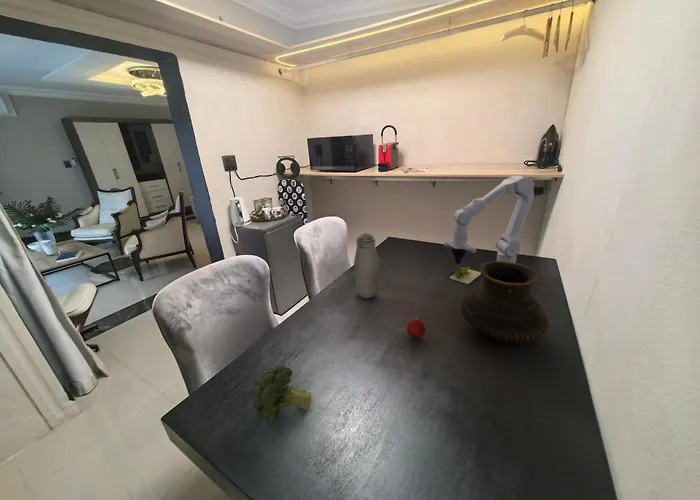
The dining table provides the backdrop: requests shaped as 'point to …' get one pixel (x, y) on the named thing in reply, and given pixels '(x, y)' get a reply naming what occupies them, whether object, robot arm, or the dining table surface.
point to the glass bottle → (366, 267)
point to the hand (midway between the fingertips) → (458, 263)
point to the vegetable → (277, 393)
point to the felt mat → (467, 277)
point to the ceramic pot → (506, 304)
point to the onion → (416, 328)
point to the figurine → (461, 272)
